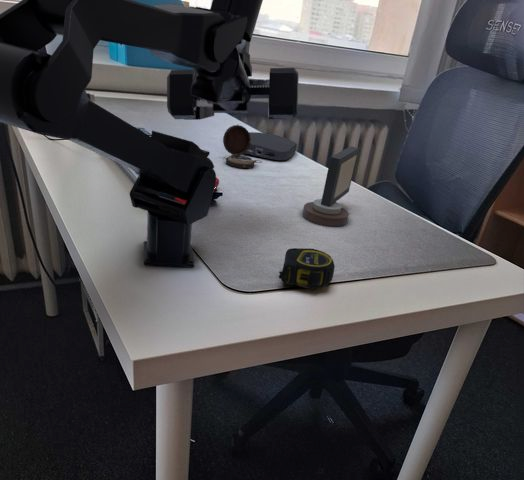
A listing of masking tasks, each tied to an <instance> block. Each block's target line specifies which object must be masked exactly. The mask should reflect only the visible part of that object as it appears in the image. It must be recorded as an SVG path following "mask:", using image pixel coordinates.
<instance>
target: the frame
mask: <svg viewBox="0 0 524 480" xmlns="http://www.w3.org/2000/svg"><path fill="white" fill-rule="evenodd" d="M359 151H360V148H359V147H356V146H352V145H351V146H348V147H347V148H345V149H342V150H341V151H339V152H337V153H335V154H333V155H331V156H330V158H329V162H328V168H327V173H326V178H325V182H324V187H323V192H322V197H321V198H317V199H314V200H313V201H312V202H313V209H314V210H316V211H318V212H321V213H324V214H331V215H335V214H339V213H340V212H341V208H343V206H342V204H341V203H339V202H337V201H339V200H341V199H342V198H343V197H344V196H345V195H347V194H348V193H349V192H350V190H351V189H350V188H351V184H352V179H353V175H354V173H355V168H356V163H357V158H358V154H359Z"/></svg>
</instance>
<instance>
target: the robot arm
mask: <svg viewBox="0 0 524 480" xmlns="http://www.w3.org/2000/svg"><path fill="white" fill-rule="evenodd" d="M263 1H264V0H212V1H211V4H210V8H205V7H201V6H184V5H178V4H177V5H176V4H171V3H170V4H169V3H168V4H155V5H154V6H153V5H150V4H147V3H143V2H139V1H136V0H20V1H18V2H17V3H16V4H14V5H12V6H11V7H9V8H7V9H6V10H4V11H3V12H1V13H0V123H1V124H5V125H9V126H12V127H14V128H18V129H21V130H25V131H29V132H31V133H35V134H38V135H41V136H46V137H51V138H56V139H61V140H67V141H70V142H72V143H73V144H77V145H78V146H80V147H83V148H86V149H88V150H90V151H91V152H94V153H95V154H98V155H100V156H102V157H104V158H107V159H109V160H111V161H113V162H115V163H118V164H119V165H122V166H123V167H126V168H129V169H130V170H132V171H135V172H136V173H137V174H138V176H137V178H136V180H135V181H134V183H133V185H132V187H131V189H130V191H129V198H130V203H131V206H132V207H133V208H136V209H137V208H138V209H141V210H144V211H147V214H146V215H147V218H146V220H147V221H146V222H147V223H146V241H143V264H144V265H146V266H166V267H188V268H189V267H190V268H194V267H195V265H196V264H195V259H194V258H195V257H194V252H193V251H194V250H193V246H192V244H191V243H192V230H193V229H192V228H193V224H194V223H196V222H198V221H200V220H203V219H204V218H206V217H208V215H209V211H210V207H211V203H212V198H213V196H214V193H215V191H214V188H215V184H216V178H217V174H216V171H215V169H214V168H215V165H214V163H213V160H211V158H210V157H209V156H210V154H211V152H210V151H209V150H205V149H202V148H200V146H199V145H197V143H195V142H194V141H192V140H188V139H185V138H181V137H177V136H174V135H169V134H167V133H163V132H159V131H155V130H152V131H151V135H148V134H147V133H145V132H144V131H142V130H140V129H138V128H137V127H136V126H134V125H132V124H130V123H128V122H127V121H125V120H124V119H122V118H120V117H119V116H117V115H115V114H114V113H112V112H111V111H110V110H109V111H108V110H107V109H106V108H104V107H102V106H100V105H99V104H97V103H96V102H93V101H92V100H91V99H90V98H89V96H88V94H87V90H86V89H87V87H88V86H89V84H90V82H91V80H92V76H93V65H94V50H95V48H96V47H97V45H98V44H99V42H100V41H102V42H107V43H114V44H118V45H124V46H129V47H134V48H140V49H146V50H148V51H149V52H150V53H151V55H153V56H154V57H156V58H158V59H160V60H162V61H164V62H166V63H168V64H174V65H177V66H181V67H186V68H190V69H171V70H170V71H169V73H168V74H167V77H166V108H167V113H168V114H169V115H170V116H171V117H172V118H174V120H184V121H191V120H197V121H199V120H204V119H207V118H213V117H215V114H244V113H245V114H247V113H248V111H249V103H250V100H252V99H253V100H254V99H255V100H256V99H267V101H268V102H267V118H268V120H286V119H294V118H296V116H297V115H298V108H299V105H298V104H299V81H300V80H299V79H300V78H299V77H300V76H299V72H298V70H297V69H296V68H295V67H270V68H269V78H268V79H263V78H262V79H249V77H251V78H252V76H253V66H252V63H251V54H250V46H251V41H252V38H253V35H254V32H255V28H256V24H257V22H258V18H259V14H260V11H261V8H262V4H263ZM57 36H61V37H62V39H61V42H60V43H59V44H58V46H57V47H56V49H55V50H54V51H53V53H52V54H50V53H47V52H44V51H40V50H41V49H43V48H44V47H47V45H49V44H50V43H52V42H53V41H54V40H55V39H56V37H57ZM160 193H161V194H164V195H167V196H171V197H173V198H179V199H182V200H186V203H185V204H183V203H180V202H177V201H175V199H171V198H167V197H165V196H161V195H160Z"/></svg>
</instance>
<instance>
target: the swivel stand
mask: <svg viewBox="0 0 524 480" xmlns="http://www.w3.org/2000/svg"><path fill="white" fill-rule="evenodd" d="M313 202H314V201H310V202H309V201H308V202H306V203H304V205H303V209H302V217H303V218H304V219H305V220H307V221H309V222H311V223H313V224H316V225H319V226H325V227H333V228H335V227H343V226H345V225H347V224H348V219H349V216H350V212H349V211H348V210H347V209H345V208H344V207H342V208H341V212H340V213H339V214H335V215H331V214H324V213H321V212H318V211H316V210H314V209H313Z"/></svg>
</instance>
